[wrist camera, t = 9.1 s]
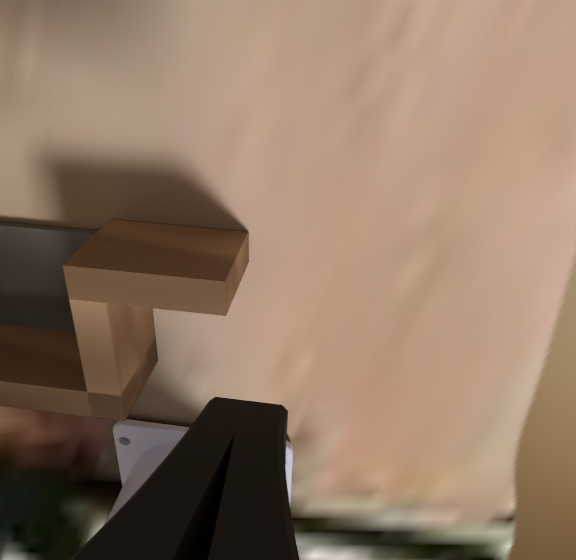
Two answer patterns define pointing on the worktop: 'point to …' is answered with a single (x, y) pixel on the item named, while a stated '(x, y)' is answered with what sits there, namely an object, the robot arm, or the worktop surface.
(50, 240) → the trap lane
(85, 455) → the worktop surface
